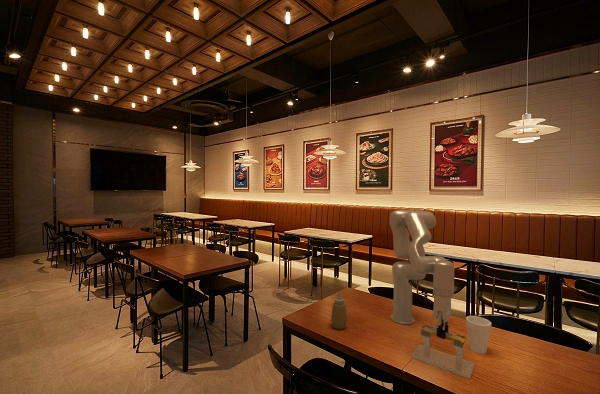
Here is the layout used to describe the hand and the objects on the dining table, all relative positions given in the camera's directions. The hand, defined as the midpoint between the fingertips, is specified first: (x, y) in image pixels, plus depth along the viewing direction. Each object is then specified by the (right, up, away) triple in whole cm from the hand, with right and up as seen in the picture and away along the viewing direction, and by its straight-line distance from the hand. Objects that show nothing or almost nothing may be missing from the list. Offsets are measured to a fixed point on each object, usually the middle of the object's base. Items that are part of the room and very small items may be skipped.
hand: (442, 335), depth 113 cm
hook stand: (0, -11, 0) cm, 11 cm away
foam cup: (+20, -11, +9) cm, 25 cm away
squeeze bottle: (-38, -10, +29) cm, 49 cm away
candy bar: (0, -1, 0) cm, 1 cm away
